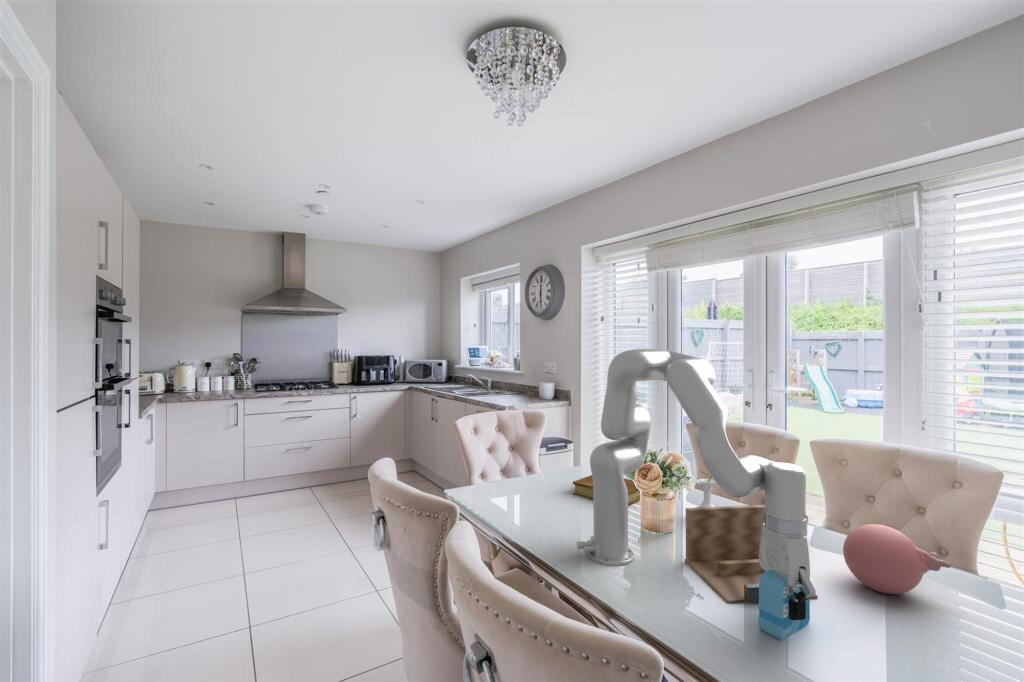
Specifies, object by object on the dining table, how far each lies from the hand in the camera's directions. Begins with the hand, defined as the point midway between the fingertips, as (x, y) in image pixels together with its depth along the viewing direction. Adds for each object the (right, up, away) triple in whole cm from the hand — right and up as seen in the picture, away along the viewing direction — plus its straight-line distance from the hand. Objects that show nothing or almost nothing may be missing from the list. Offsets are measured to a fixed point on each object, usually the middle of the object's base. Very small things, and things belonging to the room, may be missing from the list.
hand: (784, 608), depth 99 cm
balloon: (+34, -4, +14) cm, 37 cm away
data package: (0, -4, 0) cm, 4 cm away
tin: (+28, -5, +41) cm, 50 cm away
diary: (-19, -5, +86) cm, 88 cm away
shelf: (+2, -4, +20) cm, 21 cm away
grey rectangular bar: (+3, -4, +10) cm, 11 cm away
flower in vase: (+9, -5, +58) cm, 59 cm away
